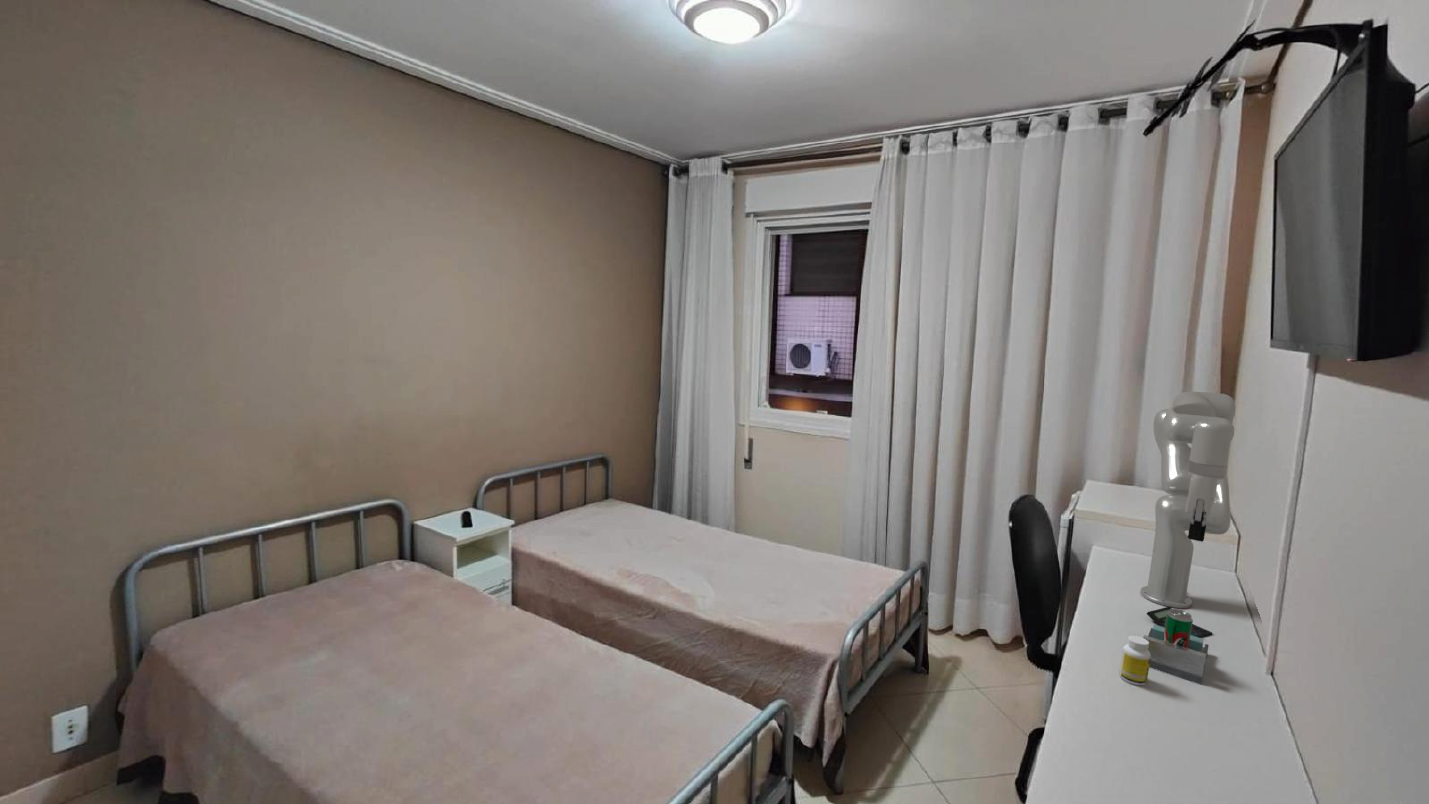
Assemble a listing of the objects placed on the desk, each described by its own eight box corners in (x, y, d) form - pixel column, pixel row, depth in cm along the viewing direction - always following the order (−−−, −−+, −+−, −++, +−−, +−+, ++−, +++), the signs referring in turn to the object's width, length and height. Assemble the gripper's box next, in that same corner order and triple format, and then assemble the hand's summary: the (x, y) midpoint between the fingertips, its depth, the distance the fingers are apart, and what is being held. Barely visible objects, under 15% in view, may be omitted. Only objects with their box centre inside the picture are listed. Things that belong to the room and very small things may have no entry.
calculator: (1190, 641, 166) (1192, 631, 166) (1145, 621, 177) (1146, 611, 176) (1212, 635, 170) (1213, 625, 169) (1166, 615, 180) (1168, 605, 180)
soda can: (1190, 663, 152) (1198, 616, 150) (1177, 667, 150) (1185, 619, 148) (1168, 652, 157) (1175, 606, 155) (1155, 656, 155) (1162, 609, 153)
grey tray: (1150, 636, 167) (1153, 613, 166) (1207, 654, 160) (1211, 629, 159) (1139, 663, 154) (1142, 638, 153) (1200, 684, 146) (1205, 658, 145)
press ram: (1151, 642, 161) (1154, 624, 160) (1200, 658, 154) (1203, 639, 154) (1149, 647, 159) (1152, 628, 158) (1199, 663, 152) (1202, 643, 151)
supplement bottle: (1150, 688, 144) (1156, 648, 142) (1123, 683, 145) (1128, 643, 144) (1142, 675, 149) (1148, 636, 147) (1115, 670, 151) (1121, 632, 149)
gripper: (1191, 462, 168) (1181, 528, 171) (1185, 472, 157) (1174, 543, 160) (1227, 467, 163) (1216, 536, 166) (1223, 478, 152) (1211, 551, 155)
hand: (1195, 539), depth 163 cm, fingers closed
